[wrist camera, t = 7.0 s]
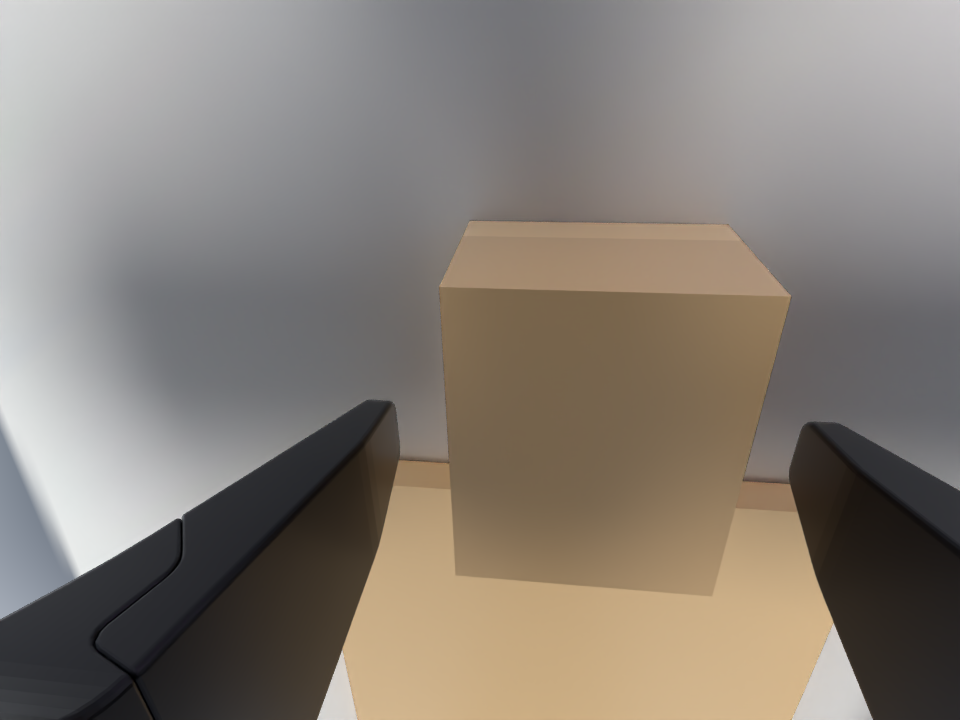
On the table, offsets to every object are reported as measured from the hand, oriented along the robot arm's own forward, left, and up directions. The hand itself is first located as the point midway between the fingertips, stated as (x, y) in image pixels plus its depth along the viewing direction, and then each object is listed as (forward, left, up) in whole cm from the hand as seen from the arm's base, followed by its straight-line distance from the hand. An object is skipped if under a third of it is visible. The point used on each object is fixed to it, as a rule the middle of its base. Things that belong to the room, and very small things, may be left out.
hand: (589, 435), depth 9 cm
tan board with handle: (-7, 0, -2) cm, 7 cm away
